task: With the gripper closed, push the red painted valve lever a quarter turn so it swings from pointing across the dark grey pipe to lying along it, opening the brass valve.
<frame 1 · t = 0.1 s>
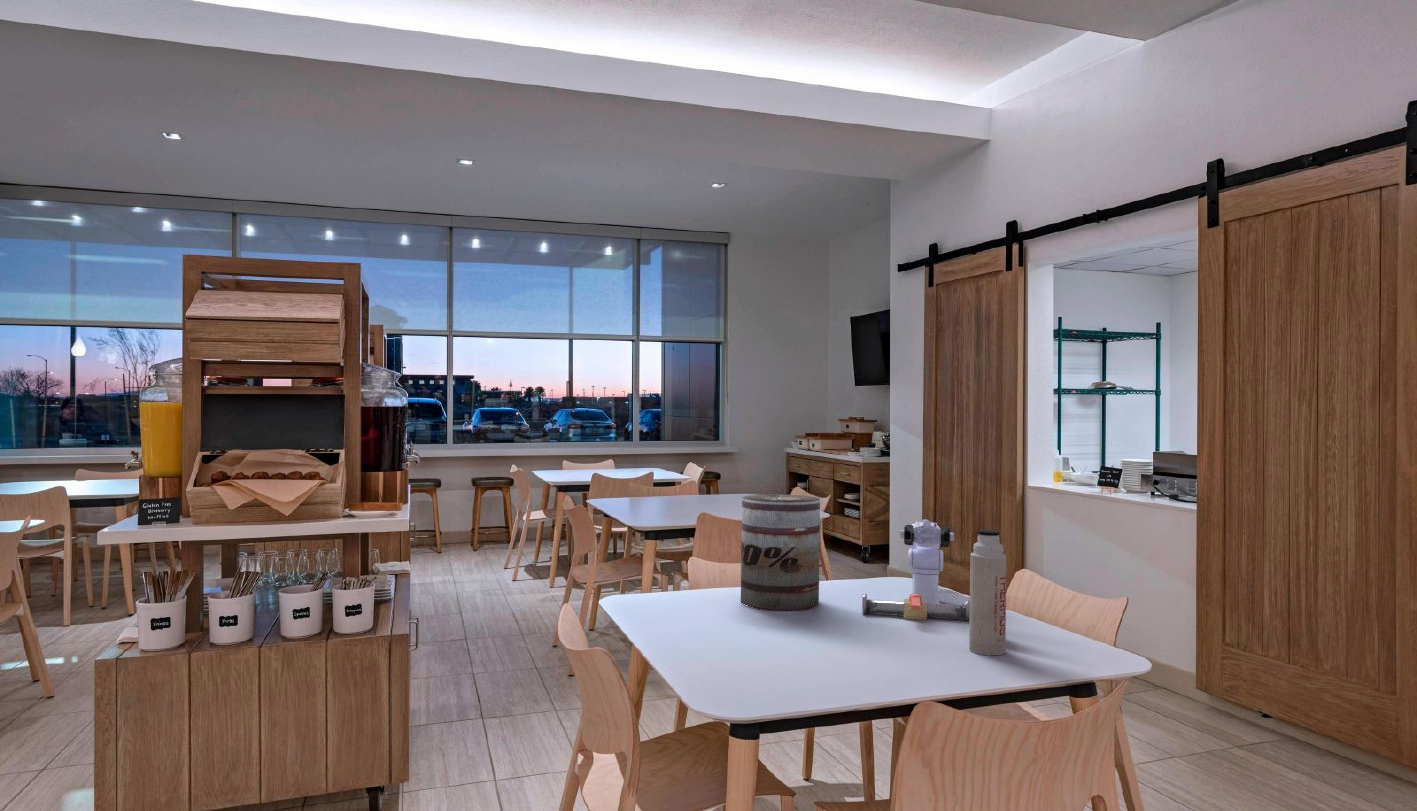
hand: (927, 537, 231), 22 cm above the table, tool horizontal, fingers open, 7 cm apart
lever: (915, 601, 228), point 5 cm above the table, hinge at 0.0°
thermos bottle: (987, 651, 200), on the table
barrel: (779, 602, 248), on the table
pipe and valve: (915, 616, 233), on the table
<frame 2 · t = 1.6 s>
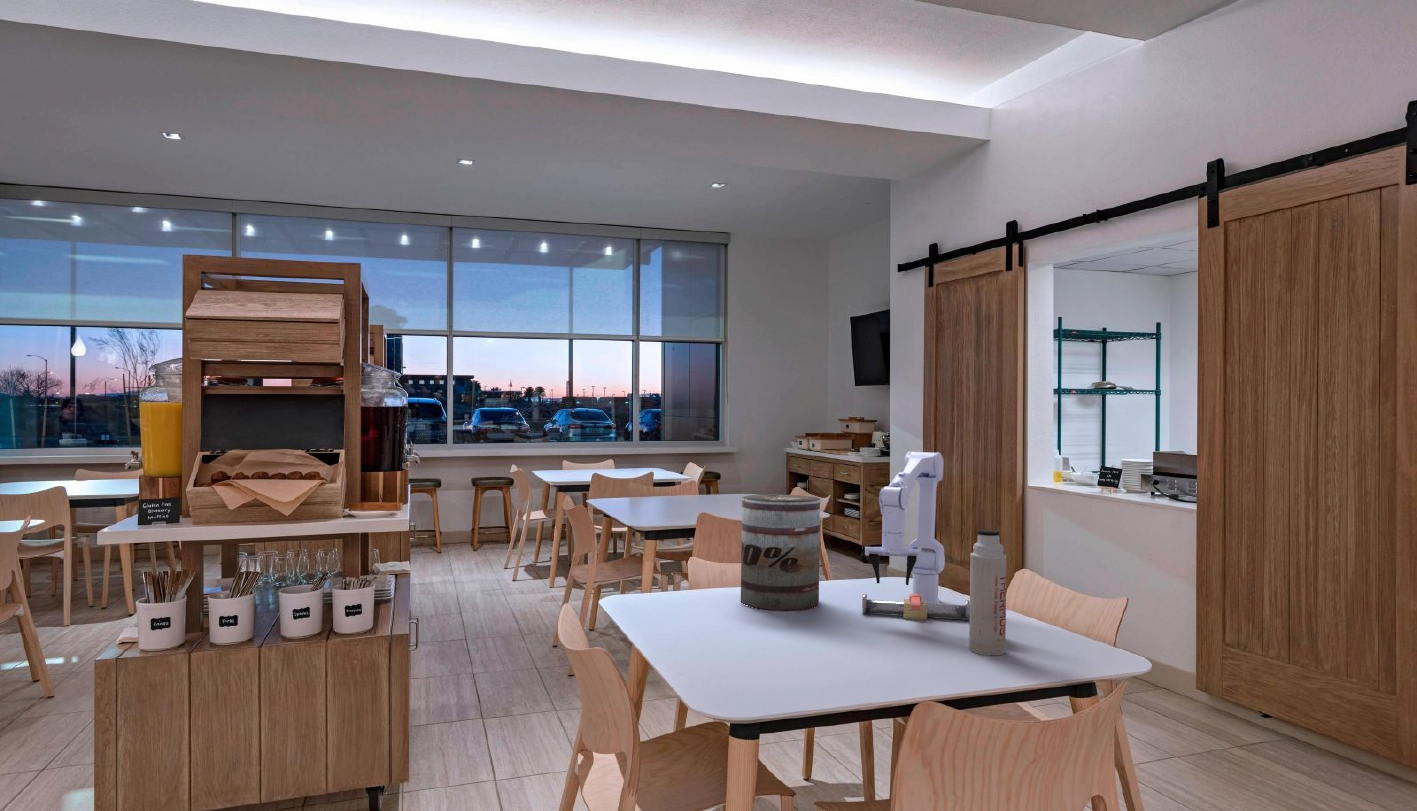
hand: (892, 583, 227), 10 cm above the table, tool pointing down, fingers open, 7 cm apart
nothing on the table moved.
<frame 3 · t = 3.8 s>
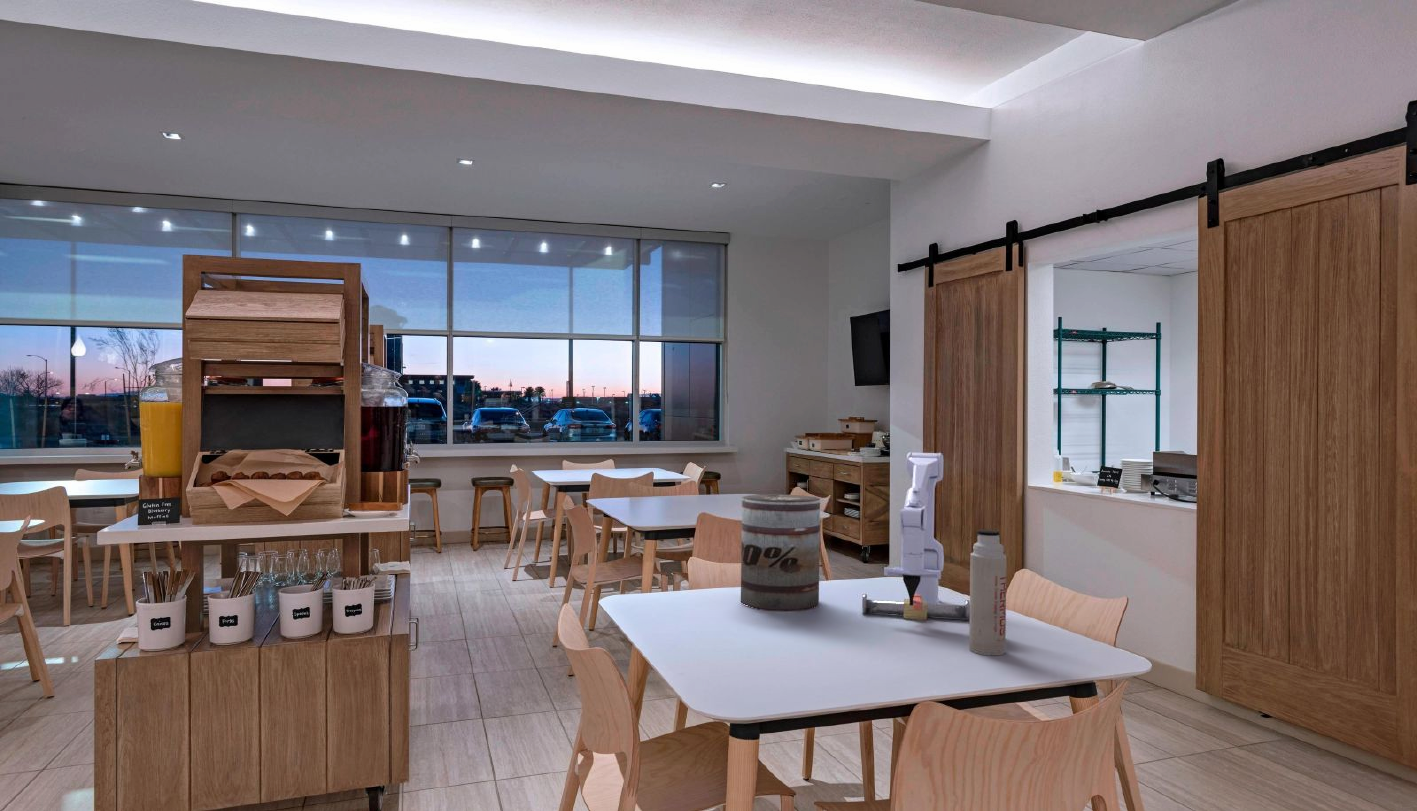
hand: (911, 604, 226), 5 cm above the table, tool pointing down, fingers closed, pressing on lever
lever: (916, 601, 228), point 5 cm above the table, hinge at 3.1°, touching gripper
everything else where it was.
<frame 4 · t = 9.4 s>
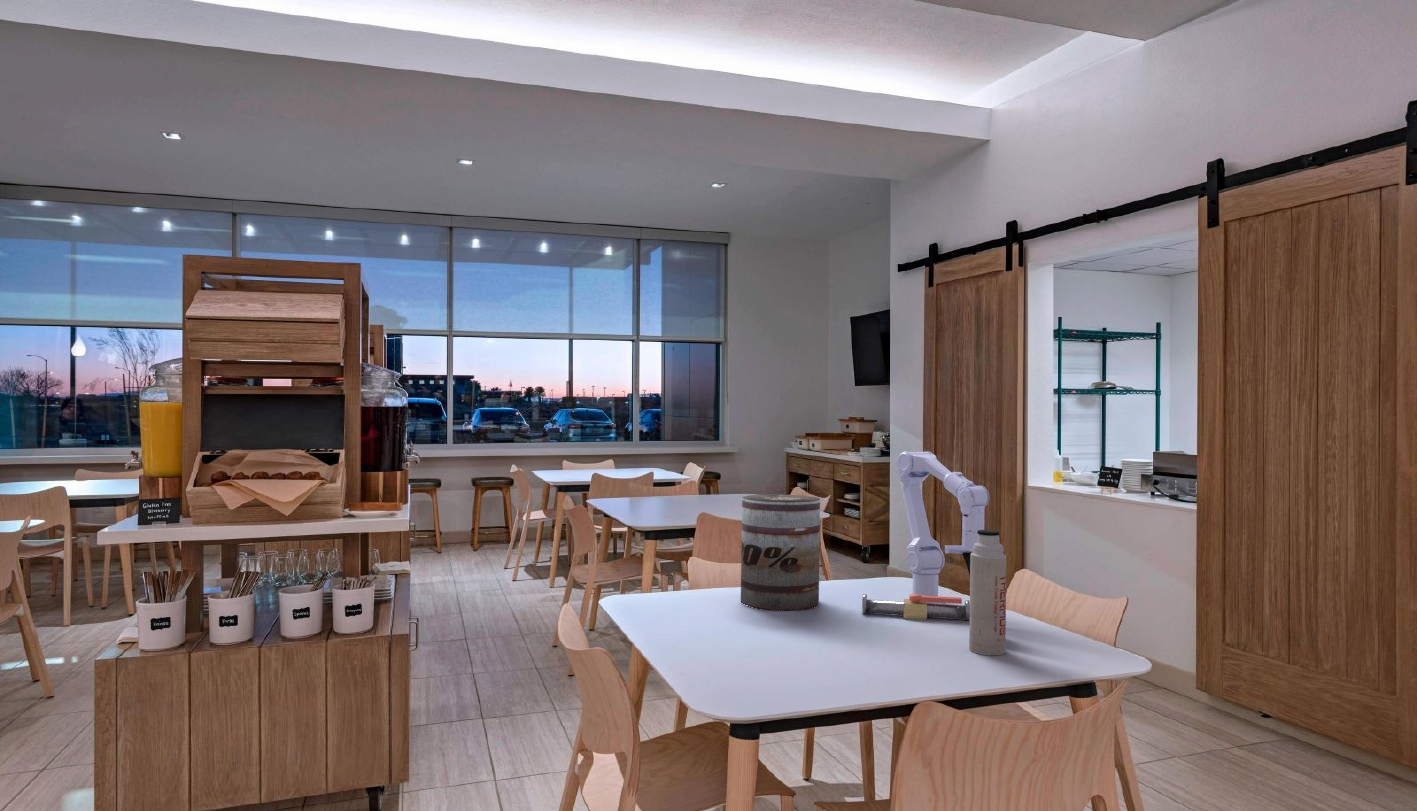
hand: (972, 581, 232), 10 cm above the table, tool pointing down, fingers closed
lever: (935, 598, 232), point 5 cm above the table, hinge at 90.8°
everything else where it was.
at the end: lever at +91° (first picture: +0°); lever touching nothing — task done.
